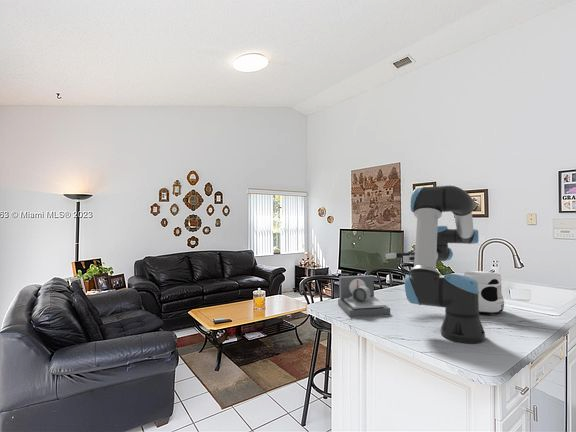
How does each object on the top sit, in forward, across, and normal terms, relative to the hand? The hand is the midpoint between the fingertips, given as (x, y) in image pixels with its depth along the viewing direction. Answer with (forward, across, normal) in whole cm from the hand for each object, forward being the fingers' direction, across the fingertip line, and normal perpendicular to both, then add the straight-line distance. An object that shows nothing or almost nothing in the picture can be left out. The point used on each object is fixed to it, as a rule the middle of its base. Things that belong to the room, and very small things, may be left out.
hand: (394, 257), depth 168 cm
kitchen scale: (+17, +5, -26) cm, 31 cm away
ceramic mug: (+19, +4, -21) cm, 29 cm away
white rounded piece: (-33, -23, -26) cm, 48 cm away
